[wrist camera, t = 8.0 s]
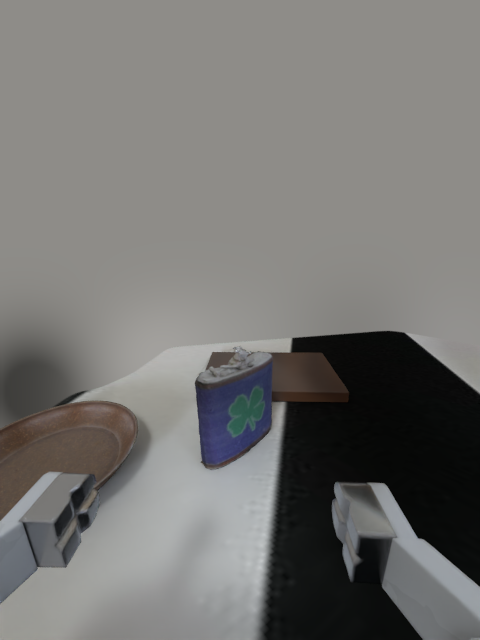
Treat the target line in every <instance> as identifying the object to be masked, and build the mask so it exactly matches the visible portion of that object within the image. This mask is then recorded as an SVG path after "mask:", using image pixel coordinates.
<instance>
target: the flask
mask: <svg viewBox="0 0 480 640" xmlns="http://www.w3.org/2000/svg"><path fill="white" fill-rule="evenodd" d="M233 349H236V350H235V353H236V354H235V355H234V356H233V357H232V358H231V360H229V362H228V363H229V364H228V365H222V366H220V368H213V367H212V366H211V367H210V368H209V369H208V370H206V371H205V372H202V373H200V374H199V376H198V377H197V379H196V381H195V386H196V387H195V388H196V393H197V395H196V398H197V407H198V418H199V434H200V445H201V455H202V462H201V463H203V464H204V466H205V467H206V468H208V469H210V470H212V469H218V468H221V467H224V466H226V465H227V464H229V463H231V462H233V461H235V460H237V458H240V457H241V456H243V455H244V454H245V453H246V452H248V451H249V450H250V448H252V447H253V446H255V445H256V444H257V443H258V442H259V441H260V440H261V439H262V438H263V437H265V435H267V434H268V432H269V430H270V429H271V423H272V418H271V415H272V405H271V402H272V365H273V357H272V355H271V354H269V353H266V352H255V353H253V354H251V353H252V352H251V351H250V352H249V353H248V352H246V350H244V349H242V347H234V348H233ZM248 354H251V355H249V356H247V355H248Z"/></svg>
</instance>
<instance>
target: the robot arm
mask: <svg viewBox="0 0 480 640" xmlns="http://www.w3.org/2000/svg"><path fill="white" fill-rule="evenodd" d="M95 484H96V478H95V475H94V474H84V473H69V472H48V473H46V474H44V475H43V476H42V477H41V478H40V479H39V480H38V481H37V482H36V483H35V484H34V486H33V487H32V488H31V489H30V490H29V491H28V492H27V493H26V494H25V495H24V496H23V497H22V498H21V500H20V501H19V502H18V503H17V504H16V505H15V506H14V507H13V508H12V509H11V510H10V511H9V512H8V513H7V515H6V516H5V517H4V518H3V519H2V520H1V521H0V603H2V602H3V601H4V600H5V599H6V598H7V597H8V596H9V595H10V594H11V593H12V592H13V591H15V590H16V589H17V588H18V587H19V586H20V585H21V584H22V583H23V582H24V581H25V580H26V579H28V578H29V577H30V576H31V575H32V574H33V573H34V572H35V571H36V570H37V569H38V568H37V567H64V568H66V567H67V565H68V563H69V562H70V560H71V558H72V557H73V555H74V553H75V551H76V550H77V548H78V546H79V545H80V543H81V533H83V532H84V531H85V530H86V529H87V528H89V527H90V526H91V524H92V522H93V520H94V519H95V517H96V514H97V511H98V508H99V502H100V497H99V492H98V491H97V490H96V489H95V488H94V485H95ZM334 492H335V495H336V498H335V499H334V500H333V501H332V517H333V523H334V528H335V531H336V535H337V537H338V538H339V540H340V541H341V542H342V543H343V544H344V545H343V552H342V555H343V558H344V561H345V565H346V568H347V571H348V574H349V578H350V581H351V582H358V583H370V584H382V587H383V589H384V590H385V591H386V593H387V594H388V595H389V596H390V598H391V599H392V600H393V602H394V603H395V604H396V605H397V607H398V608H399V609H400V611H401V612H402V613H403V614H404V616H405V617H406V618H407V620H408V621H409V622H410V623H411V625H412V626H413V627H414V629H415V630H416V631H417V632H418V634H419V635H420V636H421V637H422V639H423V640H480V587H479V586H478V585H477V584H476V583H475V582H473V581H472V580H471V579H470V578H469V577H467V576H466V575H465V574H464V573H463V572H462V571H460V570H459V569H458V568H457V567H456V566H454V565H453V564H452V563H451V562H450V561H449V560H447V559H446V558H445V557H444V556H443V555H441V554H440V553H439V552H438V551H437V550H436V549H434V548H433V547H432V546H431V545H430V544H428V543H427V542H426V541H425V540H424V539H418V538H417V536H416V535H415V533H414V531H413V529H412V528H411V526H410V524H409V523H408V521H407V519H406V518H405V516H404V514H403V512H402V511H401V509H400V507H399V506H398V504H397V502H396V501H395V499H394V497H393V495H392V494H391V492H390V490H389V489H388V487H387V486H386V485H385V484H384V483H366V482H336V483H335V486H334Z"/></svg>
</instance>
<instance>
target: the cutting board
mask: <svg viewBox="0 0 480 640" xmlns="http://www.w3.org/2000/svg"><path fill="white" fill-rule="evenodd" d="M248 353H249V352H248ZM253 353H255V352H252V353H251V354H253ZM235 354H236V353H235V352H212V355H211V357H210V360H209V363H208V365H207V368H206V370H208V369H209V368H210V367H211V366H212V367H213V368H220V366H222V365H228V364H229V363H228V362H229V360H231V358H232V357H233V356H234V355H235ZM251 354H248V355H247V356H249V355H251ZM269 354H271V355H272V357H273V365H272V401H299V402H348V398H349V392H348V390H347V389H346V387H345V386H344V384H343V383H342V381H341V380H340V378H339V377H338V376H337V374H336V373H335V371H334V370H333V368H332V367H331V365H330V364H329V362H328V361H327V360H326V358H325V357H324V355H323V354H322V353H269Z"/></svg>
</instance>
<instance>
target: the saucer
mask: <svg viewBox="0 0 480 640" xmlns="http://www.w3.org/2000/svg"><path fill="white" fill-rule="evenodd" d="M137 433H138V422H137V419H136V417H135V415H134V414H133V413H132V411H130V410H129V409H128V408H127V407H125V406H123V405H120V404H117V403H113V402H108V401H83V402H76V403H70V404H65V405H61V406H57V407H53V408H50V409H47V410H43V411H40V412H38V413H35V414H32V415H29V416H27V417H24V418H22V419H20V420H17V421H15V422H13V423H11V424H9V425H7V426H5V427H3V428H1V429H0V521H1V520H2V519H3V518H4V517H5V516H6V515H7V513H8V512H9V511H10V510H11V509H12V508H13V507H14V506H15V505H16V504H17V503H18V502H19V501H20V500H21V498H22V497H23V496H24V495H25V494H26V493H27V492H28V491H29V490H30V489H31V488H32V487H33V486H34V484H35V483H36V482H37V481H38V480H39V479H40V478H41V477H42V476H43V475H44V474H46V473H48V472H69V473H84V474H94V475H95V478H96V484H95V485H94V488H95V489H96V490H98V489H99V488H100V487H101V486H103V485H104V484H105V483H106V482H107V481H108V480H109V479H110V478H111V477H112V475H113V474H114V473H115V472H116V471H117V470H118V469H119V467H120V466H121V465H122V463H123V462H124V460H125V459H126V457H127V456H128V454H129V452H130V451H131V449H132V447H133V445H134V443H135V440H136V437H137Z"/></svg>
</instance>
